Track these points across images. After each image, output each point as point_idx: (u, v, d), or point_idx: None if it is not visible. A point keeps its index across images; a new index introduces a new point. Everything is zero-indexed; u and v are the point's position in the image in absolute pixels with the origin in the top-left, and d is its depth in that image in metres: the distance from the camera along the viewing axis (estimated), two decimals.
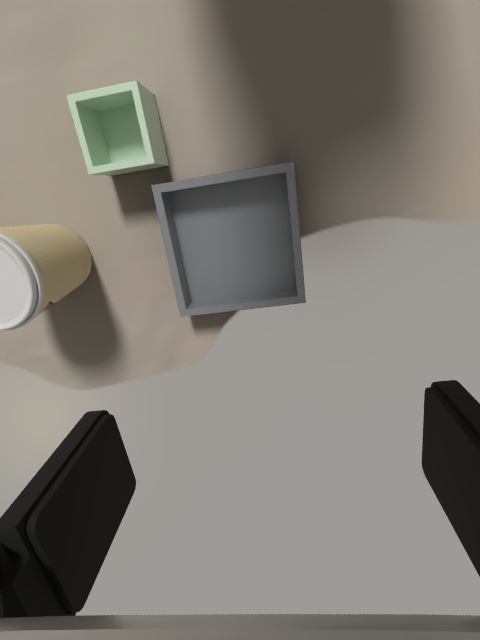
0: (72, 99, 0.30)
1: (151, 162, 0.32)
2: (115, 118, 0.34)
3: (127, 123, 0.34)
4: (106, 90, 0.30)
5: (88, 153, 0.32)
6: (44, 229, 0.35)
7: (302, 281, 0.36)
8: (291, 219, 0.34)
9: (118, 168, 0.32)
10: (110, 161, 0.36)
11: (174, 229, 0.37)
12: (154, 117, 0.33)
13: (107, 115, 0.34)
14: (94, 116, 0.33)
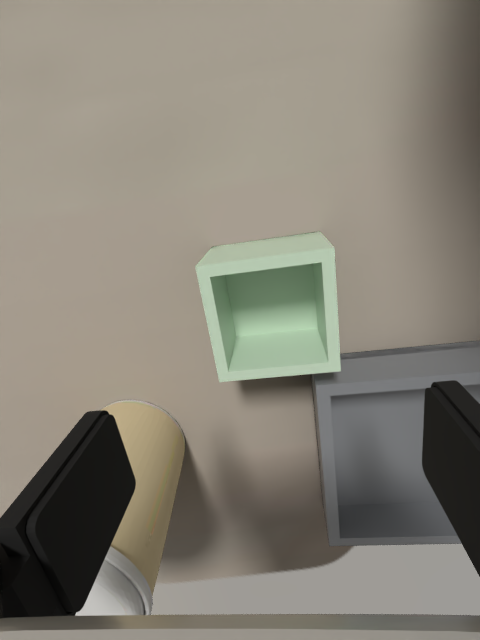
0: (205, 273, 0.16)
1: (335, 370, 0.18)
2: None
3: (270, 275, 0.21)
4: (272, 261, 0.16)
5: (223, 353, 0.18)
6: (131, 444, 0.22)
7: None
8: None
9: (273, 375, 0.18)
10: (234, 328, 0.22)
11: None
12: None
13: None
14: None
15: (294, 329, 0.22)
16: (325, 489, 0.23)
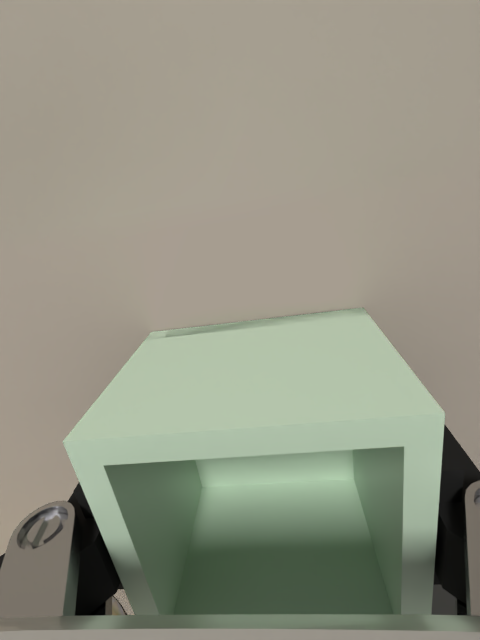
0: (91, 457, 0.06)
1: None
2: None
3: None
4: (267, 439, 0.06)
5: (153, 606, 0.08)
6: None
7: None
8: None
9: None
10: (197, 475, 0.12)
11: None
12: None
13: None
14: None
15: (309, 479, 0.12)
16: None
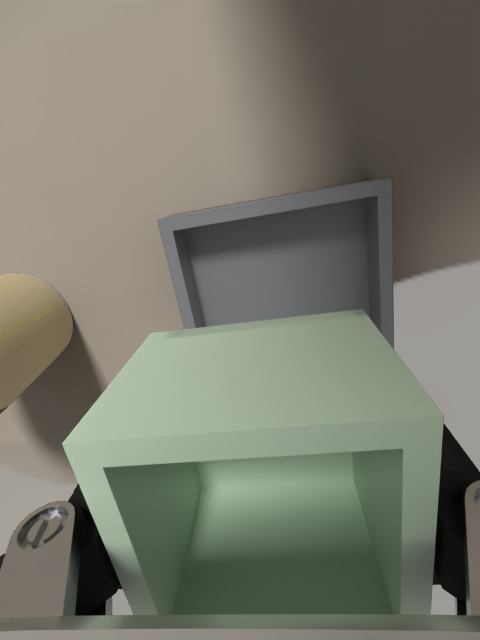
0: (91, 459, 0.06)
1: None
2: None
3: None
4: (266, 441, 0.06)
5: (153, 608, 0.08)
6: None
7: None
8: (381, 268, 0.21)
9: None
10: (197, 476, 0.12)
11: (192, 281, 0.25)
12: None
13: None
14: None
15: (309, 480, 0.12)
16: None
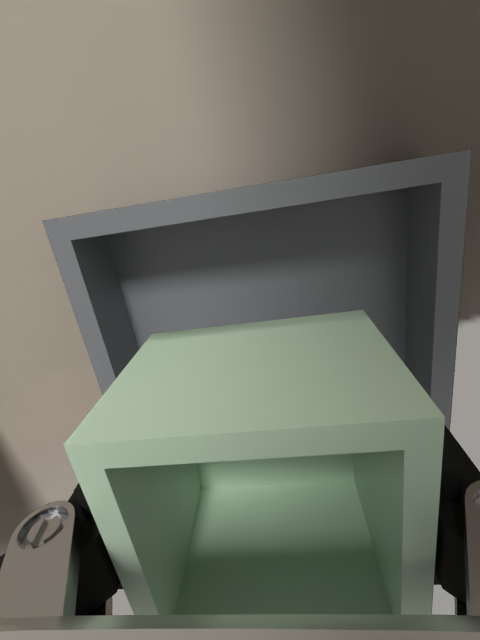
0: (92, 461, 0.06)
1: None
2: None
3: None
4: (267, 443, 0.06)
5: (154, 609, 0.08)
6: None
7: None
8: (437, 313, 0.12)
9: None
10: (198, 477, 0.12)
11: (122, 320, 0.15)
12: None
13: None
14: None
15: (310, 481, 0.12)
16: None
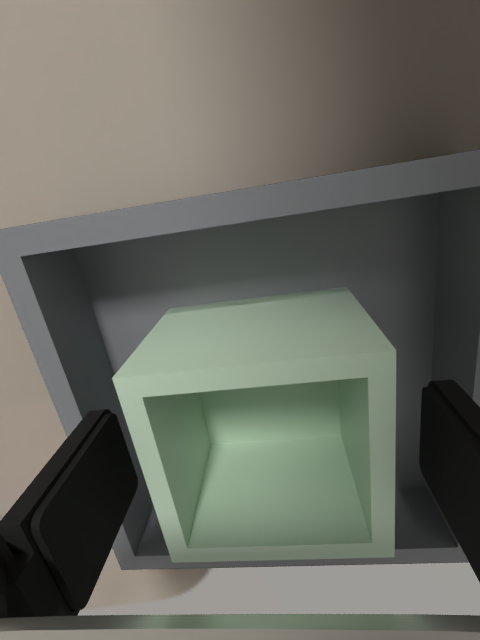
0: (133, 390, 0.08)
1: (385, 555, 0.10)
2: None
3: None
4: (267, 373, 0.08)
5: (176, 520, 0.10)
6: None
7: None
8: None
9: (269, 557, 0.10)
10: (207, 433, 0.14)
11: (94, 347, 0.13)
12: None
13: None
14: None
15: (303, 436, 0.14)
16: None
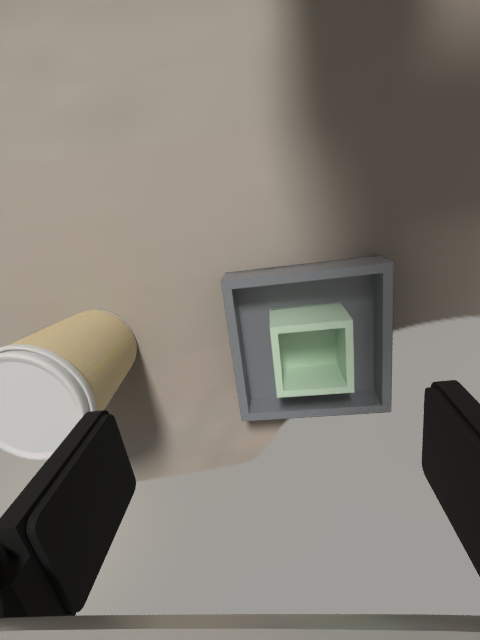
0: (275, 331, 0.27)
1: (351, 391, 0.29)
2: None
3: None
4: (316, 326, 0.27)
5: (281, 379, 0.29)
6: (91, 326, 0.30)
7: (389, 389, 0.31)
8: (383, 323, 0.29)
9: (312, 394, 0.29)
10: (281, 361, 0.33)
11: (239, 323, 0.32)
12: None
13: None
14: None
15: (321, 363, 0.33)
16: (234, 369, 0.31)
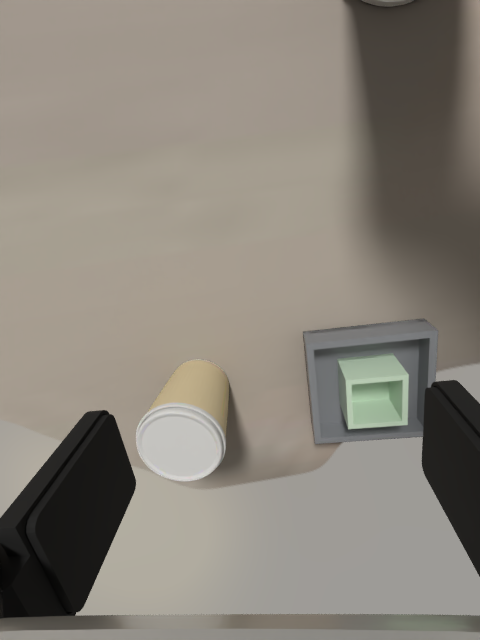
0: (350, 383, 0.37)
1: (405, 424, 0.38)
2: None
3: None
4: (381, 379, 0.37)
5: (352, 416, 0.39)
6: (206, 378, 0.40)
7: None
8: (429, 372, 0.38)
9: (375, 426, 0.39)
10: None
11: None
12: None
13: None
14: None
15: (376, 399, 0.42)
16: (312, 406, 0.41)
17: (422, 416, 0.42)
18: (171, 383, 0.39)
